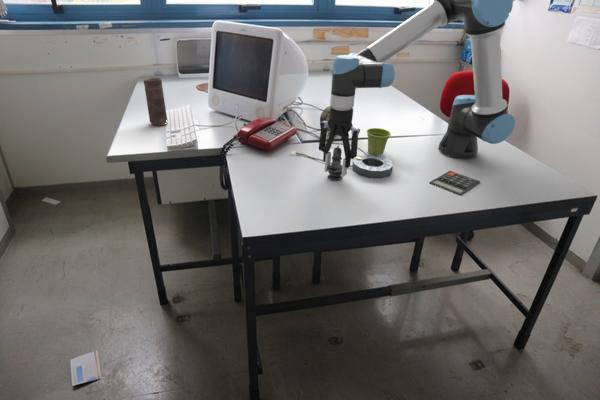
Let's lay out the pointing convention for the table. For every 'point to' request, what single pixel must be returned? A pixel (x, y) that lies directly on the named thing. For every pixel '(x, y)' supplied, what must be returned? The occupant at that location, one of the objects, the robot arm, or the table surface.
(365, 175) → the ring
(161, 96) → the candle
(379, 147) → the plant pot
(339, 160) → the dark stone statuette
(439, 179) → the calculator
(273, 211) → the table surface
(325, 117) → the alarm clock
